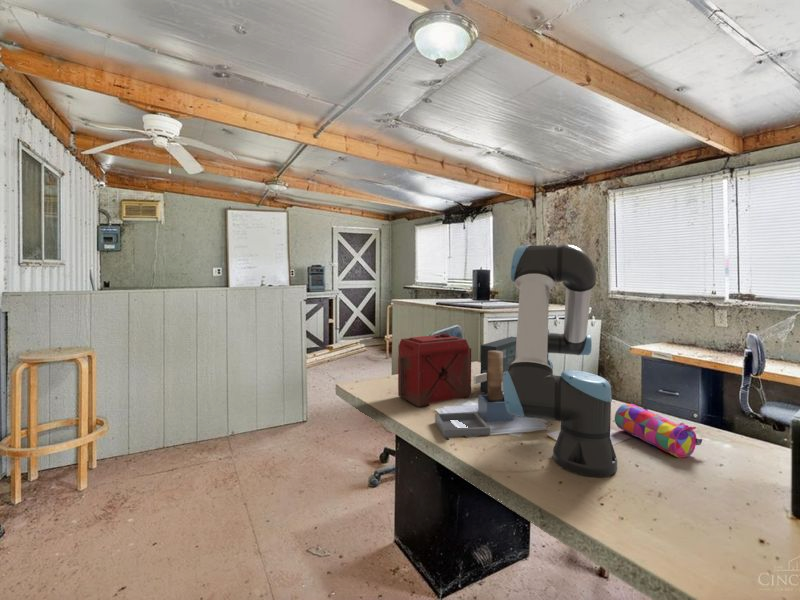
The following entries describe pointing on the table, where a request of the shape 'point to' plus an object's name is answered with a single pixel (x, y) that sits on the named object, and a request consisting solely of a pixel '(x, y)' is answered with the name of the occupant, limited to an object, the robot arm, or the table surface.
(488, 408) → the open box
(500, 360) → the dowel
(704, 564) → the table surface
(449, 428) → the tray
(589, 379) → the robot arm
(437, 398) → the jerry can
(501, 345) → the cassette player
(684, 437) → the pencil case
